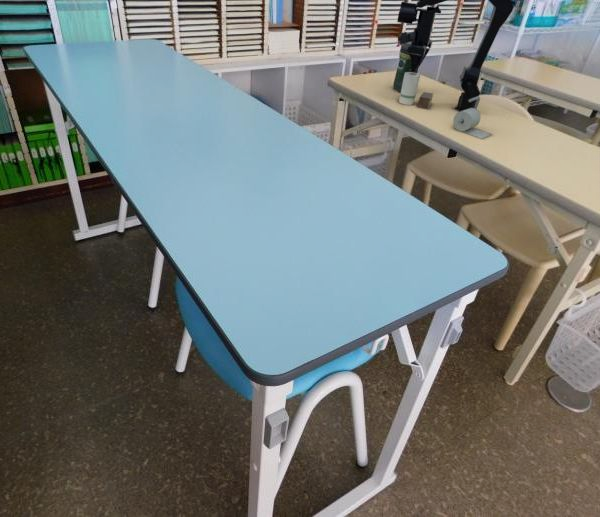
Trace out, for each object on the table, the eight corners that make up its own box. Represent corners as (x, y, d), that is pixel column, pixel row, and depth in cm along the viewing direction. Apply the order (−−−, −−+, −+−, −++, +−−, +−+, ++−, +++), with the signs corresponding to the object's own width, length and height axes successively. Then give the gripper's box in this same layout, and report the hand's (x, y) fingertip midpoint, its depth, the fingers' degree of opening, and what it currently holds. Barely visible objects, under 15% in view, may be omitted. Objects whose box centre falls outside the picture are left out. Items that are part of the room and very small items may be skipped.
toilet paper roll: (493, 133, 159) (463, 122, 165) (504, 102, 152) (472, 93, 159) (479, 139, 152) (448, 128, 159) (490, 108, 146) (457, 97, 152)
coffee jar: (416, 93, 192) (427, 46, 181) (400, 93, 190) (410, 46, 179) (405, 86, 200) (414, 41, 189) (389, 87, 197) (398, 41, 186)
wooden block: (430, 103, 182) (433, 93, 179) (427, 109, 175) (430, 98, 173) (421, 101, 183) (423, 91, 180) (417, 107, 176) (419, 96, 174)
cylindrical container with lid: (429, 88, 179) (413, 64, 174) (431, 93, 174) (414, 67, 170) (404, 107, 184) (387, 84, 180) (405, 112, 180) (388, 88, 175)
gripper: (408, 19, 174) (399, 62, 183) (397, 25, 160) (389, 71, 169) (436, 23, 171) (426, 66, 180) (428, 30, 157) (418, 76, 166)
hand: (414, 70), depth 174 cm, fingers open, 9 cm apart
